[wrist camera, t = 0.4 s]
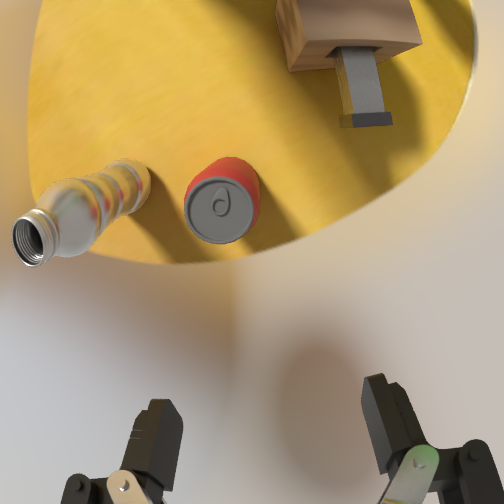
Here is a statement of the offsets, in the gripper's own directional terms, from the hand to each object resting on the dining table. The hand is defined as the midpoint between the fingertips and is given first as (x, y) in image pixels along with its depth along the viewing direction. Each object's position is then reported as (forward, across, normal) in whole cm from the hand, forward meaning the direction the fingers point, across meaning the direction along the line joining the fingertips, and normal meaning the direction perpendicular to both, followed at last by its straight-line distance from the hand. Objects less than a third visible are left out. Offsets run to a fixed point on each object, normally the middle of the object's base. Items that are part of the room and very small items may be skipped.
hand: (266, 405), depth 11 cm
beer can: (+27, +3, -4) cm, 27 cm away
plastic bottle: (+27, +15, -7) cm, 31 cm away
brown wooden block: (+27, -11, -20) cm, 35 cm away
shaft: (+21, -11, -18) cm, 30 cm away
